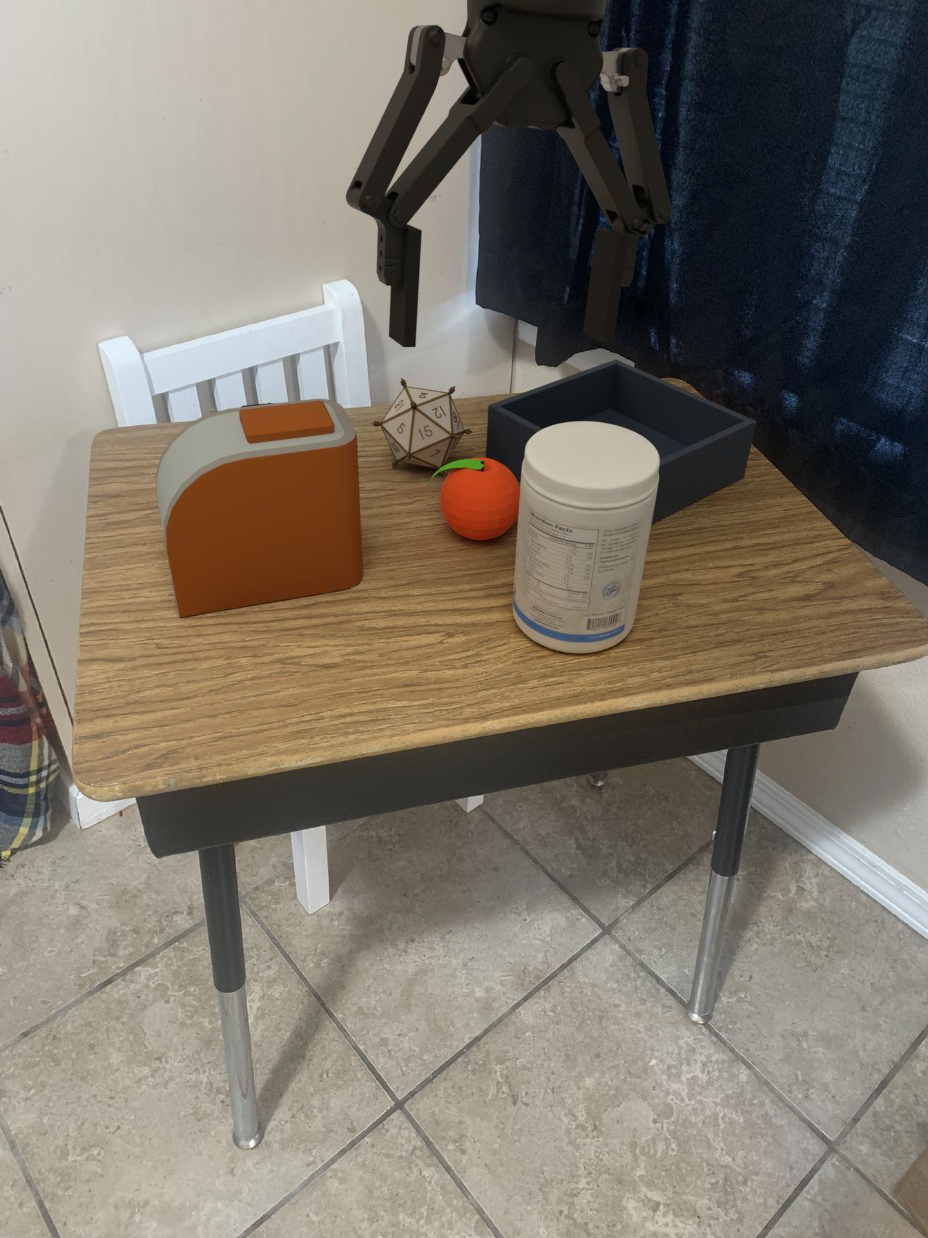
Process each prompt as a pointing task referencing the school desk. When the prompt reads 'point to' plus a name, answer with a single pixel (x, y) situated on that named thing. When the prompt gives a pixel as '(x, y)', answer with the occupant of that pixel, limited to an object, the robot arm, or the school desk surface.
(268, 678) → the school desk surface
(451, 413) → the game die
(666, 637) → the school desk surface
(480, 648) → the school desk surface
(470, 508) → the clementine
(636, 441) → the supplement tub
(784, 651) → the school desk surface
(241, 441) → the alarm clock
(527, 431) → the bin
